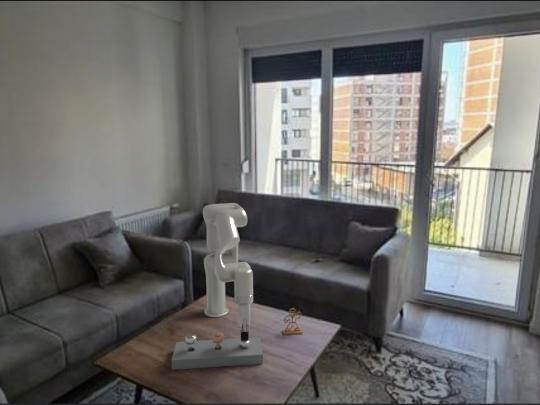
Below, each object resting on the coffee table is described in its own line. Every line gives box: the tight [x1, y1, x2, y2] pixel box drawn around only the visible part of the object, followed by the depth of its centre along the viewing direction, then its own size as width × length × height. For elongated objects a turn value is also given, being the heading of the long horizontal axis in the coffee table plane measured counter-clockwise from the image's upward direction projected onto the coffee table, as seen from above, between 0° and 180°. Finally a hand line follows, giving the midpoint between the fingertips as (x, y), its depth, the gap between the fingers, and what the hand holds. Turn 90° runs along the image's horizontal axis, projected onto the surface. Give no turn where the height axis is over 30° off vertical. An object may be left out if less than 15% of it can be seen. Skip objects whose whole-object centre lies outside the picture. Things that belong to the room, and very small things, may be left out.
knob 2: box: [239, 339, 250, 348], centre depth 164 cm, size 4×4×6 cm
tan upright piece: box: [282, 307, 303, 336], centre depth 183 cm, size 9×4×12 cm, turn 95°
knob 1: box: [184, 333, 197, 350], centre depth 161 cm, size 4×4×6 cm
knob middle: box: [211, 331, 224, 349], centre depth 162 cm, size 4×4×6 cm
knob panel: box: [171, 336, 264, 370], centre depth 163 cm, size 14×36×4 cm, turn 96°
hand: (244, 339), depth 163 cm, fingers closed
